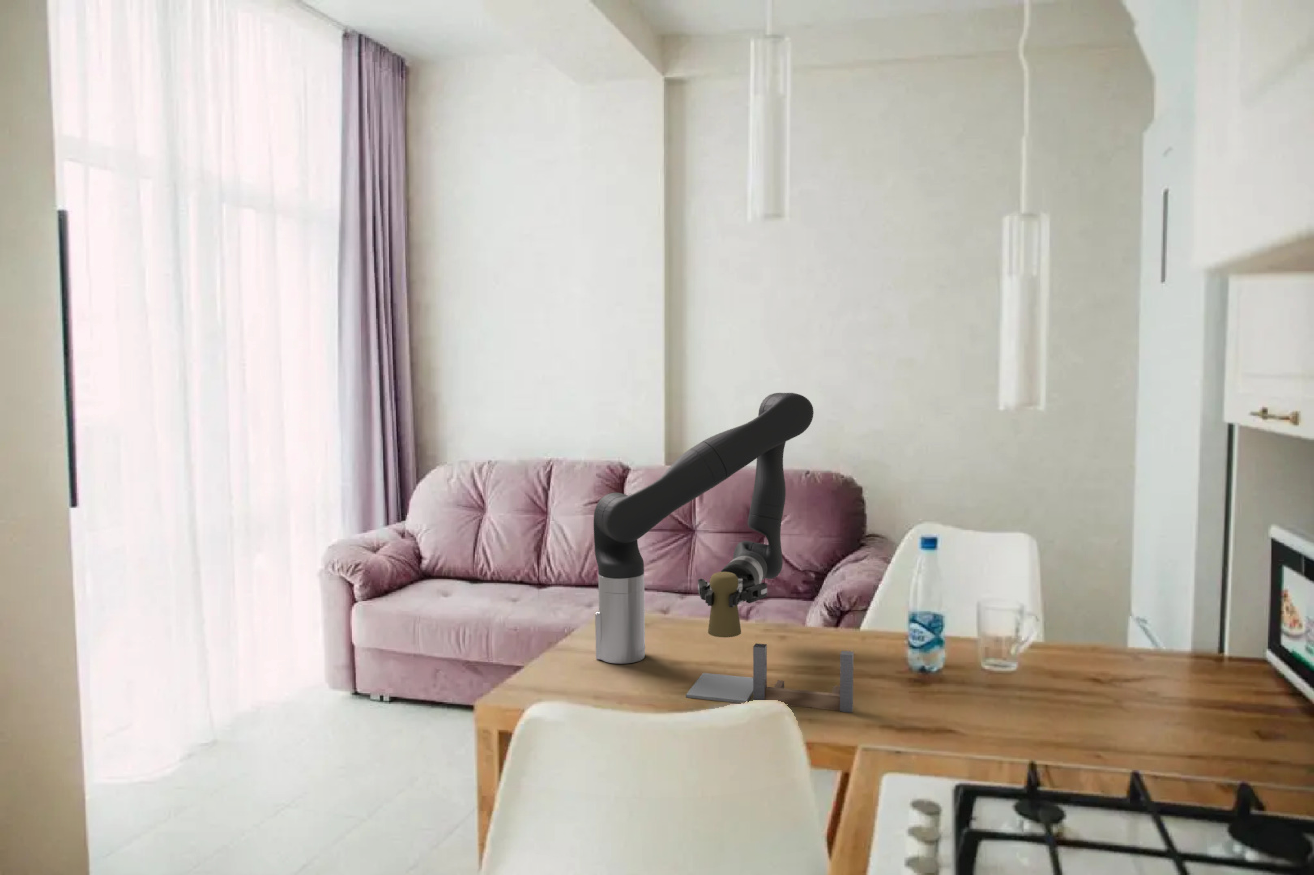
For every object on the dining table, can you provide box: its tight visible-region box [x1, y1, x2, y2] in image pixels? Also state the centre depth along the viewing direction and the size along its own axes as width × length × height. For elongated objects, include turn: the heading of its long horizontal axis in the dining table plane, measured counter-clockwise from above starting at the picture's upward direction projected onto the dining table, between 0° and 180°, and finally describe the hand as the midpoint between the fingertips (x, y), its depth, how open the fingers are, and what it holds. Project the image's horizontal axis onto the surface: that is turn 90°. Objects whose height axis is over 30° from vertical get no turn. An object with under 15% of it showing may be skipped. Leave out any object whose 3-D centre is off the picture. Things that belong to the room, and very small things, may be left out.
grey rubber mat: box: [685, 672, 753, 704], centre depth 170 cm, size 11×12×1 cm
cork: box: [707, 571, 742, 638], centre depth 169 cm, size 6×6×11 cm
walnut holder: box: [752, 642, 854, 714], centre depth 164 cm, size 17×9×10 cm, turn 72°
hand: (720, 601), depth 166 cm, fingers closed on cork, 3 cm apart
